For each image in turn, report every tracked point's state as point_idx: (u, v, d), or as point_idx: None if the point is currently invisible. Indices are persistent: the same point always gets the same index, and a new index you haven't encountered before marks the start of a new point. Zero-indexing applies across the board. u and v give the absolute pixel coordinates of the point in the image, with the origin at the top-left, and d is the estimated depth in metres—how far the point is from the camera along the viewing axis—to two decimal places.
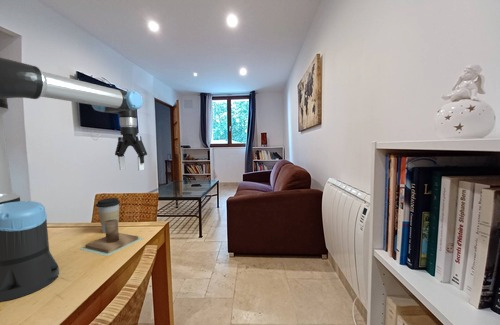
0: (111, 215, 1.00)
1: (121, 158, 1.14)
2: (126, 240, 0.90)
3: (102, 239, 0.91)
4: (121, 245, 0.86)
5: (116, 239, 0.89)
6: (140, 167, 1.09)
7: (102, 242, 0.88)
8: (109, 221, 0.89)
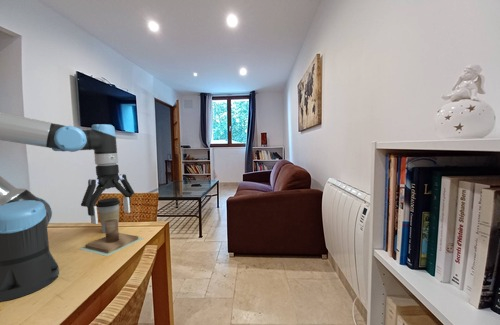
0: (111, 215, 1.00)
1: (124, 199, 0.95)
2: (126, 240, 0.90)
3: (102, 239, 0.91)
4: (121, 245, 0.86)
5: (116, 239, 0.89)
6: (92, 220, 0.83)
7: (102, 242, 0.88)
8: (109, 221, 0.89)
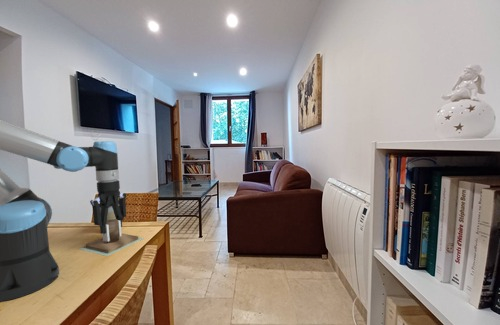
0: (111, 215, 1.00)
1: None
2: (126, 240, 0.90)
3: (102, 239, 0.91)
4: (121, 245, 0.86)
5: (116, 239, 0.89)
6: (104, 237, 0.87)
7: (102, 242, 0.88)
8: (109, 221, 0.89)
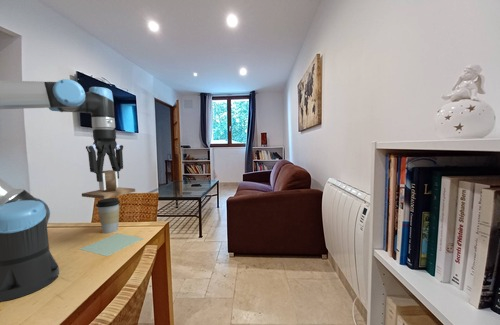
0: (111, 215, 1.00)
1: None
2: (123, 190, 0.89)
3: (99, 190, 0.90)
4: (117, 193, 0.85)
5: (113, 189, 0.88)
6: (100, 186, 0.86)
7: (99, 192, 0.87)
8: (105, 171, 0.88)
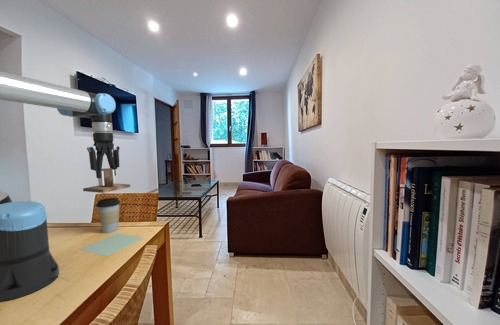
0: (111, 215, 1.00)
1: None
2: (119, 186, 1.02)
3: (98, 186, 1.03)
4: (114, 188, 0.98)
5: (110, 185, 1.01)
6: (99, 182, 0.99)
7: (98, 187, 1.00)
8: None
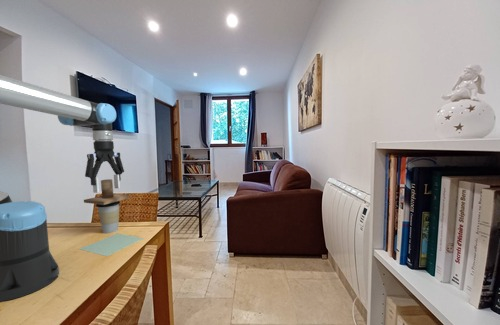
0: (111, 215, 1.00)
1: (115, 176, 1.06)
2: (120, 197, 1.02)
3: (99, 197, 1.03)
4: (115, 200, 0.99)
5: (111, 196, 1.01)
6: (94, 189, 0.97)
7: (98, 198, 1.00)
8: (105, 180, 1.01)
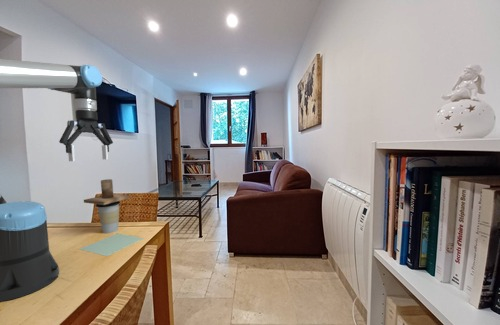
0: (111, 215, 1.00)
1: (103, 147, 1.03)
2: (120, 197, 1.02)
3: (98, 197, 1.03)
4: (115, 200, 0.99)
5: (111, 196, 1.01)
6: (69, 158, 0.91)
7: (98, 198, 1.00)
8: (104, 180, 1.01)
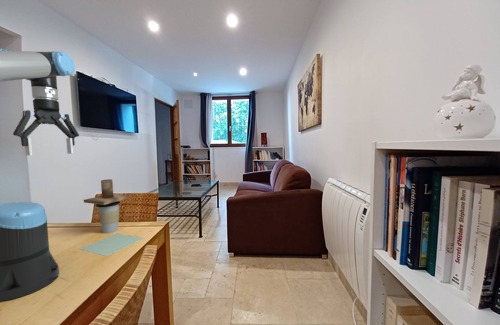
0: (111, 215, 1.00)
1: (67, 140, 0.94)
2: (120, 197, 1.02)
3: (99, 197, 1.03)
4: (115, 200, 0.99)
5: (111, 196, 1.01)
6: (26, 151, 0.82)
7: (98, 198, 1.00)
8: (105, 180, 1.01)
